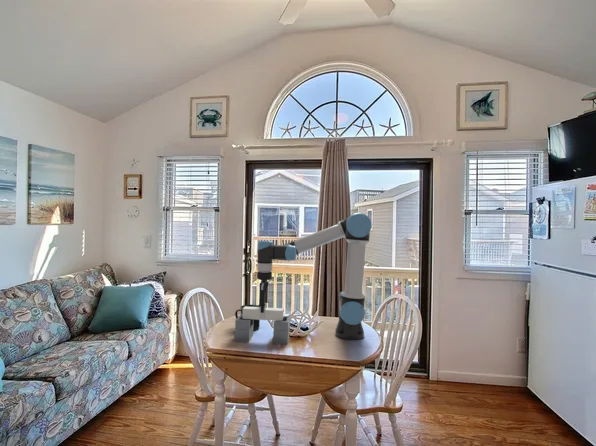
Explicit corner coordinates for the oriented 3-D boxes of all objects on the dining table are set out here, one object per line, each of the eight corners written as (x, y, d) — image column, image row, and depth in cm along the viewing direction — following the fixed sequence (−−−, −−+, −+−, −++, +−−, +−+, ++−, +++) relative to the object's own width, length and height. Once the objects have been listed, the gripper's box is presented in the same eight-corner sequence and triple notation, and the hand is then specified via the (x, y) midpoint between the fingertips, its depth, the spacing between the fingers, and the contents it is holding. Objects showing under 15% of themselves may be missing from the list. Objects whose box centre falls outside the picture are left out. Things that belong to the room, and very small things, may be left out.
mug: (255, 332, 187) (256, 309, 187) (230, 329, 191) (231, 307, 191) (263, 326, 197) (263, 305, 197) (239, 324, 201) (239, 303, 201)
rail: (283, 318, 178) (283, 308, 178) (281, 321, 173) (282, 310, 173) (244, 316, 180) (245, 306, 180) (242, 318, 175) (242, 308, 175)
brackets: (289, 336, 181) (289, 316, 181) (287, 343, 170) (288, 322, 170) (239, 334, 183) (240, 314, 183) (234, 341, 172) (235, 320, 172)
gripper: (260, 268, 186) (258, 312, 186) (253, 273, 168) (252, 322, 168) (274, 269, 185) (272, 313, 185) (269, 274, 167) (268, 322, 167)
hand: (263, 317), depth 176 cm, fingers closed on rail, 5 cm apart
